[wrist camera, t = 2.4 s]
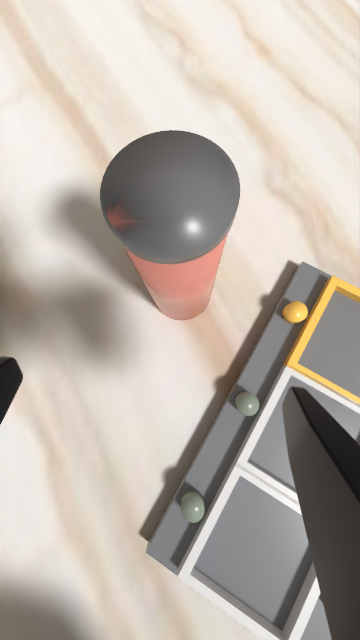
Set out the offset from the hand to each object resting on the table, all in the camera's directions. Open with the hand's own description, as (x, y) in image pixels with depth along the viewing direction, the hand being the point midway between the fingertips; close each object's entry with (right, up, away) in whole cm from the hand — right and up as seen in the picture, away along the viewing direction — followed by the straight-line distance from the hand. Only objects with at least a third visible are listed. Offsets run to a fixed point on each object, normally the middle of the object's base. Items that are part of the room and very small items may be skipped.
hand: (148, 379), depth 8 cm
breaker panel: (+11, -7, +11) cm, 17 cm away
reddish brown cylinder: (+1, +4, +14) cm, 15 cm away
